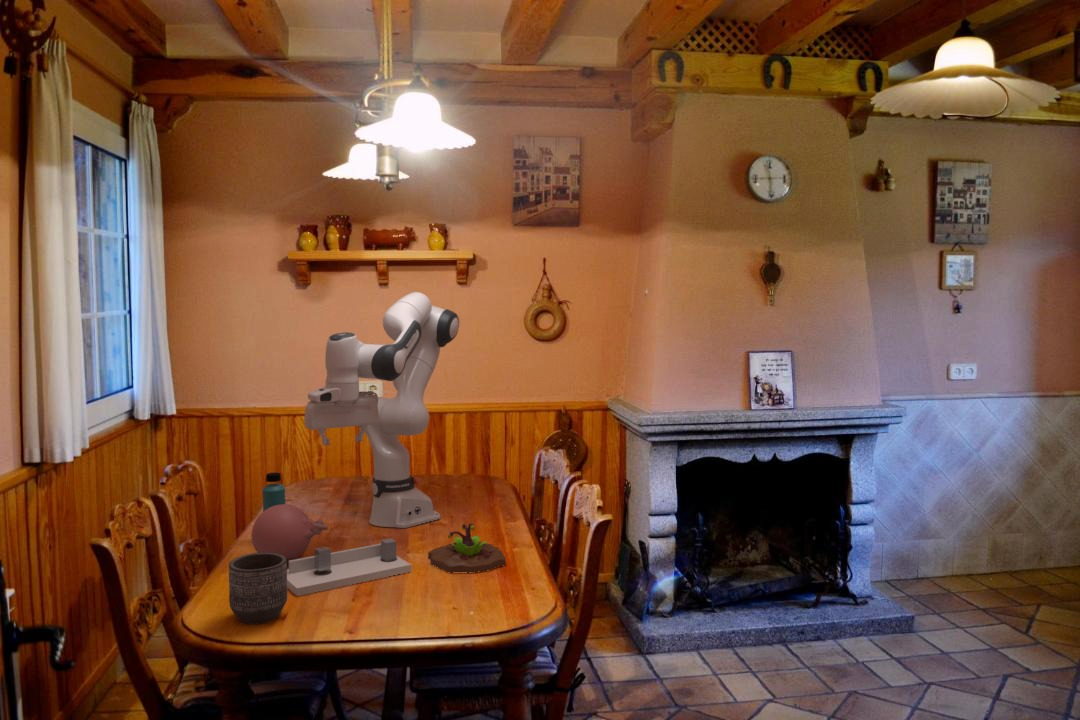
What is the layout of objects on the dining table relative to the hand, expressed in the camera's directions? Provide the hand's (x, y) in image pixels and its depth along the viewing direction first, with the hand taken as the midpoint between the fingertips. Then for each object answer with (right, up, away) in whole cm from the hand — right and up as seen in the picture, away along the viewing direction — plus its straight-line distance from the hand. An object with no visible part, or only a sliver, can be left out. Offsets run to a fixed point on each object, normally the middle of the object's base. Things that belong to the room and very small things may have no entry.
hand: (342, 443), depth 219 cm
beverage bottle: (-23, -30, +13) cm, 40 cm away
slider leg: (-1, -30, -17) cm, 34 cm away
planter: (-9, -35, -40) cm, 54 cm away
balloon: (-13, -32, -4) cm, 34 cm away
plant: (+34, -32, -1) cm, 47 cm away
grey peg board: (+4, -32, -14) cm, 35 cm away
